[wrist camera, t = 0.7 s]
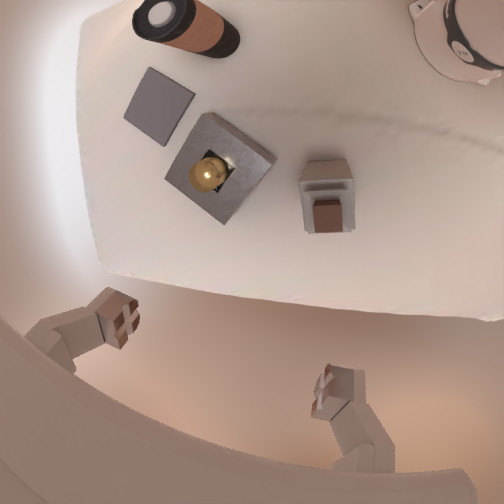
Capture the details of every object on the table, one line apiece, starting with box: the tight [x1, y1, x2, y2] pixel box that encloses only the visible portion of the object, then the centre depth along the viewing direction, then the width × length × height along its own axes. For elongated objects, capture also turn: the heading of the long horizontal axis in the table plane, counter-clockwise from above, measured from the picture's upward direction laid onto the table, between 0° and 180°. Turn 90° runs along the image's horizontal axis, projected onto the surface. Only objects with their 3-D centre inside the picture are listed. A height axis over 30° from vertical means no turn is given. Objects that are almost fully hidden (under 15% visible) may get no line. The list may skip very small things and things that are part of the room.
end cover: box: [189, 154, 235, 192], centre depth 45 cm, size 5×5×8 cm
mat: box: [123, 67, 196, 147], centre depth 45 cm, size 12×12×1 cm
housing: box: [164, 113, 277, 225], centre depth 47 cm, size 14×14×5 cm
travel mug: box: [132, 0, 240, 58], centre depth 29 cm, size 8×8×20 cm
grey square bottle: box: [299, 159, 355, 234], centre depth 38 cm, size 7×7×18 cm
